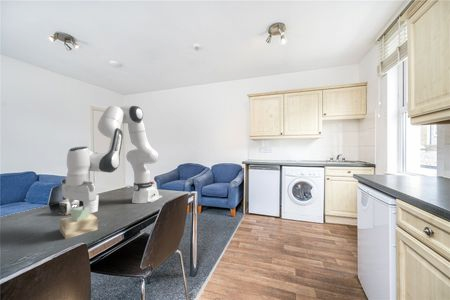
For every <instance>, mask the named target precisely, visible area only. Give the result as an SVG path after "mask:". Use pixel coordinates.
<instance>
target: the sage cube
mask: <svg viewBox="0 0 450 300" xmlns="http://www.w3.org/2000/svg"><path fill="white" fill-rule="evenodd" d="M83 207H84V205H83V206H79V207H78V208H74V209H71V214H70V217H71V220H74V221H80V220H83V219H86V218H89V209H88V210H86V211H85V210H83Z"/></svg>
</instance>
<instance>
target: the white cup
mask: <svg viewBox="0 0 450 300" xmlns="http://www.w3.org/2000/svg"><path fill="white" fill-rule="evenodd" d="M99 196H100V195H99V194H97V193H96V200H95V201H91V202H90V204H89V213H91V214H93V213H96V212H98V210H99ZM82 203H83V204H84V201H82Z"/></svg>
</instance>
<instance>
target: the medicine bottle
mask: <svg viewBox="0 0 450 300" xmlns="http://www.w3.org/2000/svg"><path fill="white" fill-rule="evenodd" d="M75 204H76V207H75V208H78V207H80V201H78V200H75ZM71 209H74V208H71V207H70V203H69V199H67V198H64V197H63V196H62V201H59V202H58V214H60V215H64V214H65V216H68V215H71Z"/></svg>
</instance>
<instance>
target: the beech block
mask: <svg viewBox="0 0 450 300" xmlns="http://www.w3.org/2000/svg"><path fill="white" fill-rule="evenodd" d="M98 222H99V219H98V217H97V216H96V215H95V214H93V213H89V218H86V219H83V220H80V221H74V220H71V216H69V217H64V218H60V219H59V231H60V233H61V235H62V236H63V238H64V239H65V240H67V239H70V238H74V237H78V236H81V235H83V234H87V233H91V232H94V231H97V230H98V229H99V225H98V224H99V223H98Z"/></svg>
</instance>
